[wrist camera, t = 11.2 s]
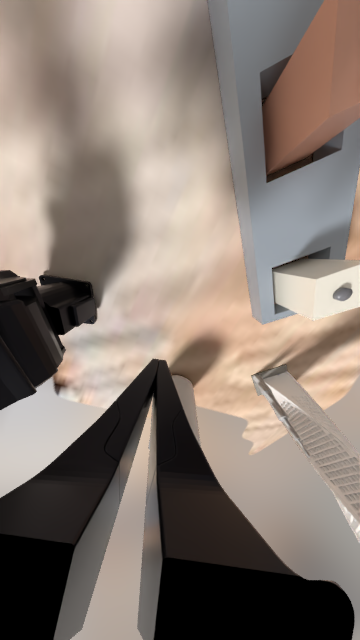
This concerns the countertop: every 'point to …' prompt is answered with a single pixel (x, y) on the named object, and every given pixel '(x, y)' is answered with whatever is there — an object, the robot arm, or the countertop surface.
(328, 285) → the cream block
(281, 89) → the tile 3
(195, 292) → the countertop surface
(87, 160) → the countertop surface
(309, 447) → the skyscraper
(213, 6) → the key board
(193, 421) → the can
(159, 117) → the countertop surface
